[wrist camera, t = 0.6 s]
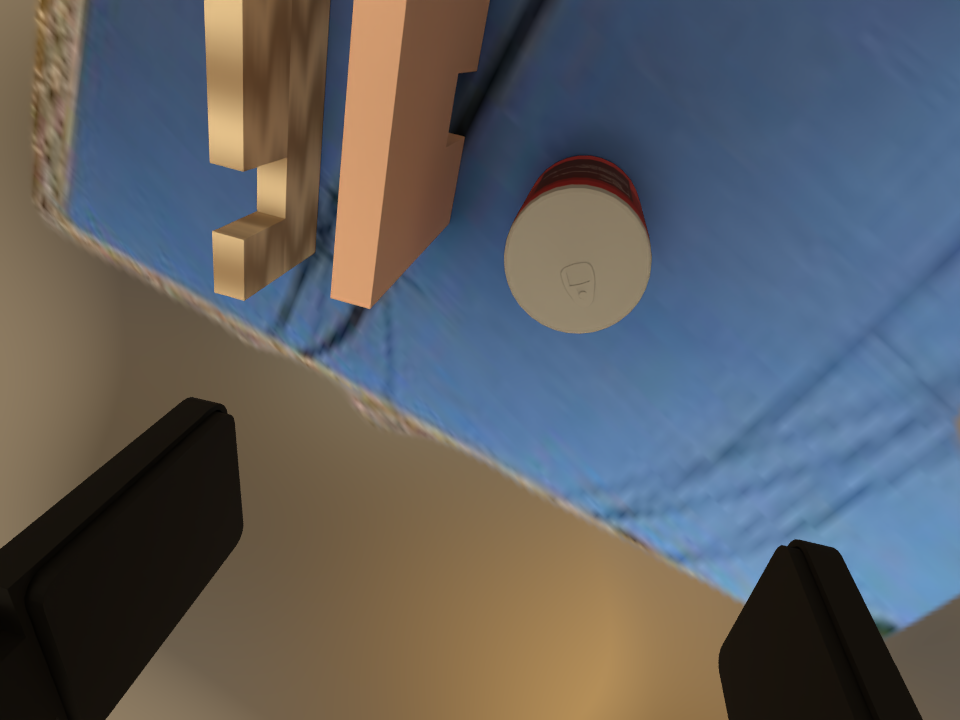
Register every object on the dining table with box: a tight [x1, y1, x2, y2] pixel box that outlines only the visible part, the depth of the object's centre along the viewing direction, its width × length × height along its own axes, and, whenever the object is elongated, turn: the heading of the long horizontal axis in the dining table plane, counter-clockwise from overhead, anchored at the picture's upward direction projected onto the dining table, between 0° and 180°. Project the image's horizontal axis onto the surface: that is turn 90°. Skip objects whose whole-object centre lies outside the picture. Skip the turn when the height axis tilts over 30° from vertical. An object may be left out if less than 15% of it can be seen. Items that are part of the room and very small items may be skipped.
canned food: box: [504, 156, 652, 334], centre depth 34 cm, size 8×8×11 cm
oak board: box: [204, 0, 330, 301], centre depth 35 cm, size 18×2×10 cm, turn 168°
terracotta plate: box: [331, 0, 490, 309], centre depth 30 cm, size 2×16×16 cm, turn 168°
